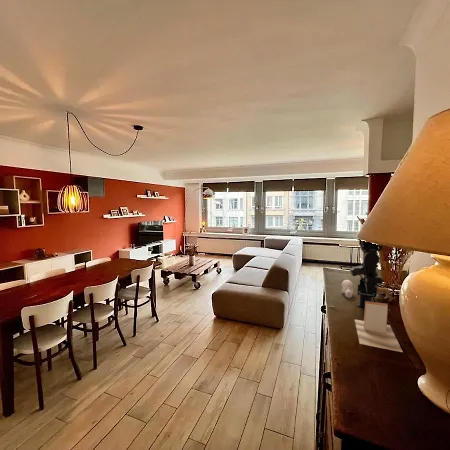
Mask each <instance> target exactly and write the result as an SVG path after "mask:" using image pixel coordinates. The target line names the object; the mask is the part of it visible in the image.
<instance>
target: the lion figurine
mask: <svg viewBox="0 0 450 450" xmlns="http://www.w3.org/2000/svg"><path fill="white" fill-rule="evenodd" d="M375 286H376V288H377V289H378V290H377V295H378V294H380V295H383V294H384V295H385V297H384V296H383V299H384V300H385V299H387V298H388V301H389V302H392V300H393V301H395V298H394V297H393V294H392V292H391V290H390V289H389V288H387V287H379V286H378V284H376V285H375ZM373 294H374V293H373ZM372 299H375V298H374V297H372Z"/></svg>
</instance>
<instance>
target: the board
mask: <svg viewBox="0 0 450 450" xmlns="http://www.w3.org/2000/svg"><path fill="white" fill-rule="evenodd" d="M354 323H355V328H356V333H357V337H358V342H359V345H365V346H369V347H374V348H379V349H385V350H389V351H395V352H400V353H403V350H402V348H401V345H400V343H399V341H398V339H397V338H396V337H397V336H396V335H395V332H394V331H393V328H392V327H391V325H390V324H387V328H386V333H380V332H374V331H369V330H364V320H362V319H361V320H359V319H354Z"/></svg>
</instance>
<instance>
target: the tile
mask: <svg viewBox="0 0 450 450" xmlns="http://www.w3.org/2000/svg"><path fill="white" fill-rule="evenodd" d="M388 309H389V305H388V303H383V302H377V301H376V302H375V301H372V302H370V301H365V308H364V317H363V321H364V330H369V331H374V332H380V333H386V328H387V325H388V323H387V322H388V311H389V310H388Z"/></svg>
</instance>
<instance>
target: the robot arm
mask: <svg viewBox="0 0 450 450" xmlns="http://www.w3.org/2000/svg"><path fill="white" fill-rule="evenodd" d="M358 245H359V246H360V247H359V248H360V250H361V252H362V253H363V255H362V263H361V265H357V266H354V267H350V268H349V271H350V275H351V276H352V277H357V276H361V275H362V277H360V279H359V282H358V284H357V289H356V290H357V296H359V303H358V304H357V307H360V308H364V309H365V301H370V302H373V299H376V298H377V297H378V293H377V290H378V289H377V288H376V286H375V285H383V279H382V278H381V277H380V276H378V273H377V270H378V269H377V268H379V262H380V256H379V255H378V252H382V250H383V245H382V246H380V245H376V244H372V243H369V242H365V241H361V240H359V241H358ZM373 293H374V294H373ZM372 297H374V298H372Z"/></svg>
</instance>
